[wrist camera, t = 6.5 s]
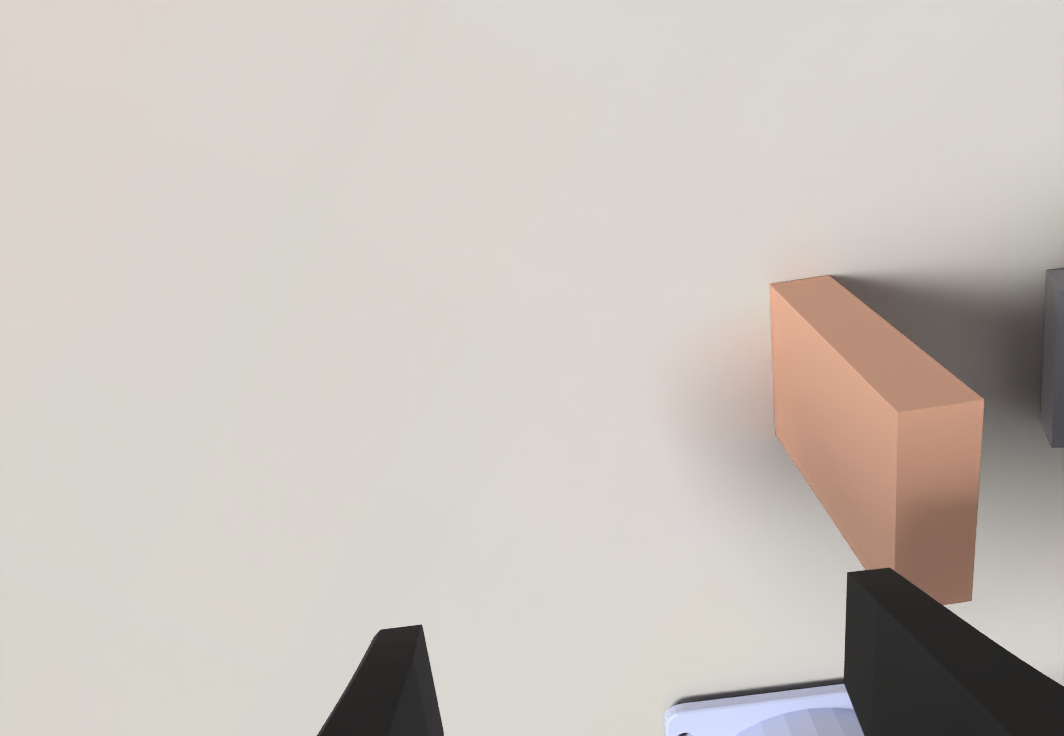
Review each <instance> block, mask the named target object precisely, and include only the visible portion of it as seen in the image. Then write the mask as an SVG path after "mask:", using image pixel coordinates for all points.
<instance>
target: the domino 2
mask: <svg viewBox="0 0 1064 736" xmlns="http://www.w3.org/2000/svg"><path fill="white" fill-rule="evenodd" d="M1040 421H1041V423H1042V426H1043V428H1044V431H1045V433H1046V436H1047V438H1048V441H1049V443H1050V446H1051V448H1058V447H1064V269H1057V270H1046V290H1045V315H1044V340H1043V365H1042V389H1041V414H1040Z"/></svg>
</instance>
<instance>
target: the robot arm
mask: <svg viewBox="0 0 1064 736" xmlns="http://www.w3.org/2000/svg"><path fill="white" fill-rule="evenodd" d="M664 724H665V736H678V735H679V734H682V733H688V734H687V735H684V736H1064V686H1062V685H1060V684H1059V683H1057V682H1055V681H1054V680H1052V679H1051V678H1049V677H1047V676H1046V675H1044V674H1042V673H1041V672H1039V671H1038V670H1036V669H1035V668H1033V667H1032V666H1030V665H1029V664H1027V663H1025V662H1024V661H1022V660H1021V659H1019V658H1018V657H1016V656H1015V655H1013V654H1012V653H1010V652H1009V651H1007V650H1006V649H1004V648H1003V647H1001V646H1000V645H998V644H997V643H995V642H994V641H993V640H991V639H990V638H988V637H987V636H985V635H984V634H982V633H981V632H980V631H978V630H977V629H975V628H974V627H972V626H971V625H970V624H968V623H967V622H965V621H964V620H962V619H961V618H960V617H958V616H957V615H956V614H954V613H953V612H951V611H950V610H949V609H947V608H946V607H944V606H943V605H942V604H940V603H939V602H937V601H936V600H935V599H933V598H932V597H930V596H929V595H928V594H926V593H925V592H924V591H922V590H921V589H919V588H918V587H917V586H915V585H914V584H913V583H911V582H910V581H908V580H907V579H906V578H904V577H903V576H901V575H900V574H898V573H897V572H895V571H894V570H893V569H891V568H890V567H888V568H880V569H872V570H864V571H856V572H848V573H847V599H846V631H845V664H844V684H838V685H830V686H821V687H813V688H805V689H797V690H789V691H781V692H772V693H764V694H756V695H748V696H740V697H732V698H723V699H715V700H707V701H699V702H691V703H683V704H678V705H674V706H673V707H671V708H670V709H668V711H667V712H666V714H665V718H664ZM317 736H444V732H443V727H442V722H441V717H440V712H439V707H438V702H437V697H436V692H435V687H434V682H433V677H432V672H431V667H430V662H429V657H428V652H427V647H426V642H425V637H424V632H423V627H422V625H415V626H407V627H399V628H390V629H382V630H380V631H379V632H378V633H377V634H376V635H375V637H374V638H373V640H372V642H371V644H370V646H369V648H368V650H367V651H366V653H365V655H364V657H363V659H362V661H361V663H360V664H359V666H358V668H357V670H356V672H355V673H354V675H353V677H352V679H351V681H350V682H349V684H348V686H347V687H346V689H345V691H344V693H343V694H342V696H341V698H340V699H339V701H338V703H337V704H336V706H335V708H334V709H333V711H332V712H331V714H330V716H329V717H328V719H327V720H326V722H325V724H324V725H323V727H322V728H321V730H320V732H319V733H318V735H317Z"/></svg>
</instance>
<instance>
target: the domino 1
mask: <svg viewBox="0 0 1064 736" xmlns="http://www.w3.org/2000/svg"><path fill="white" fill-rule="evenodd" d="M770 304H771V330H772V356H773V382H774V407H775V433H776V436H777V438H778V439H779V441H780V442H781V444H782V445H783V447H784V448H785V450H786V451H787V453H788V454H789V456H790V457H791V459H792V460H793V462H794V463H795V465H796V466H797V468H798V469H799V471H800V472H801V474H802V475H803V477H804V478H805V480H806V481H807V483H808V484H809V486H810V487H811V489H812V490H813V492H814V493H815V495H816V496H817V498H818V499H819V501H820V502H821V504H822V505H823V507H824V508H825V510H826V511H827V513H828V514H829V516H830V517H831V519H832V520H833V522H834V523H835V525H836V526H837V528H838V529H839V531H840V532H841V534H842V535H843V537H844V538H845V540H846V541H847V543H848V544H849V546H850V547H851V549H852V550H853V552H854V553H855V555H856V556H857V558H858V559H859V561H860V562H861V564H862V565H863V567H864V568H865V570H872V569H880V568H888V567H890V568H891V569H893V570H894V571H895V572H897V573H898V574H900V575H901V576H903V577H904V578H906V579H907V580H908V581H910V582H911V583H913V584H914V585H915V586H917V587H918V588H919V589H921V590H922V591H924V592H925V593H926V594H928V595H929V596H930V597H932V598H933V599H935V600H936V601H937V602H939V603H940V604H942V605H947V604H954V603H961V602H967V601H972V587H973V571H974V556H975V540H976V524H977V508H978V493H979V477H980V461H981V445H982V430H983V414H984V399H983V398H982V397H981V396H979V395H978V394H977V393H976V392H974V391H973V390H972V389H971V388H969V387H968V386H967V385H966V384H964V383H963V382H962V381H961V380H959V379H958V378H957V377H956V376H954V375H953V374H952V373H951V372H949V371H948V370H947V369H946V368H944V367H943V366H942V365H941V364H939V363H938V362H937V361H936V360H934V359H933V358H932V357H931V356H929V355H928V354H927V353H926V352H924V351H923V350H922V349H921V348H919V347H918V346H917V345H916V344H914V343H913V342H912V341H911V340H909V339H908V338H907V337H906V336H904V335H903V334H902V333H901V332H899V331H898V330H897V329H896V328H894V327H893V326H892V325H891V324H889V323H888V322H887V321H886V320H884V319H883V318H882V317H881V316H879V315H878V314H877V313H876V312H874V311H873V310H872V309H871V308H869V307H868V306H867V305H866V304H864V303H863V302H862V301H861V300H859V299H858V298H857V297H856V296H854V295H853V294H852V293H851V292H849V291H848V290H847V289H846V288H844V287H843V286H842V285H841V284H839V283H838V282H837V281H836V280H834V279H833V278H832V277H831V276H829V275H827V276H820V277H813V278H807V279H800V280H793V281H787V282H780V283H773V284H770Z"/></svg>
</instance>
